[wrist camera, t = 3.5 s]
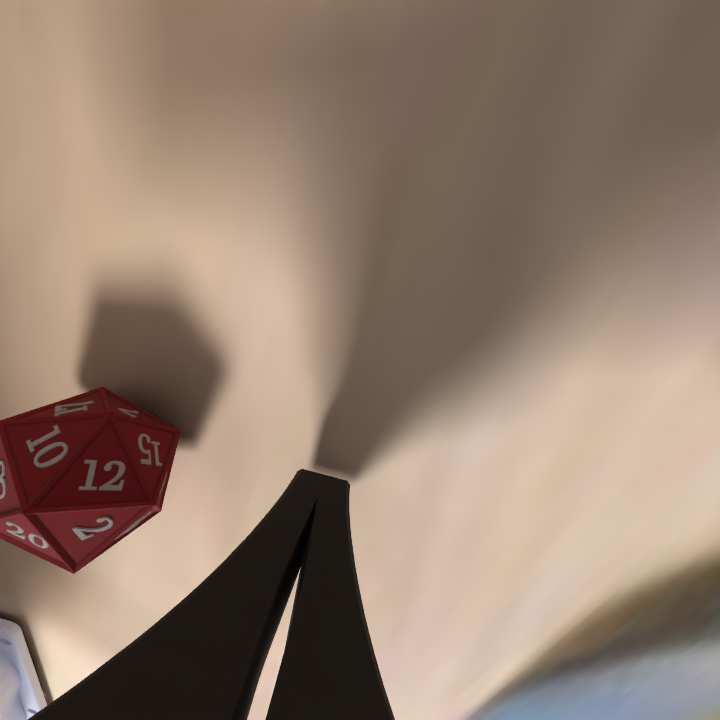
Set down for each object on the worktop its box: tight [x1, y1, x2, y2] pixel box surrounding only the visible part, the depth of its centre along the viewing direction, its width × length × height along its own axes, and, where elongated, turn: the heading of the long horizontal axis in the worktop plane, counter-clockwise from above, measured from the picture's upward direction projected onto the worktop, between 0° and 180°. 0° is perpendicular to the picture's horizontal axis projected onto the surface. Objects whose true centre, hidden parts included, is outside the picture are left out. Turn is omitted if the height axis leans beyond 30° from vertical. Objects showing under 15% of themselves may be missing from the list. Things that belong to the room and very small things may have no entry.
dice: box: [0, 387, 181, 574], centre depth 10 cm, size 4×4×4 cm
